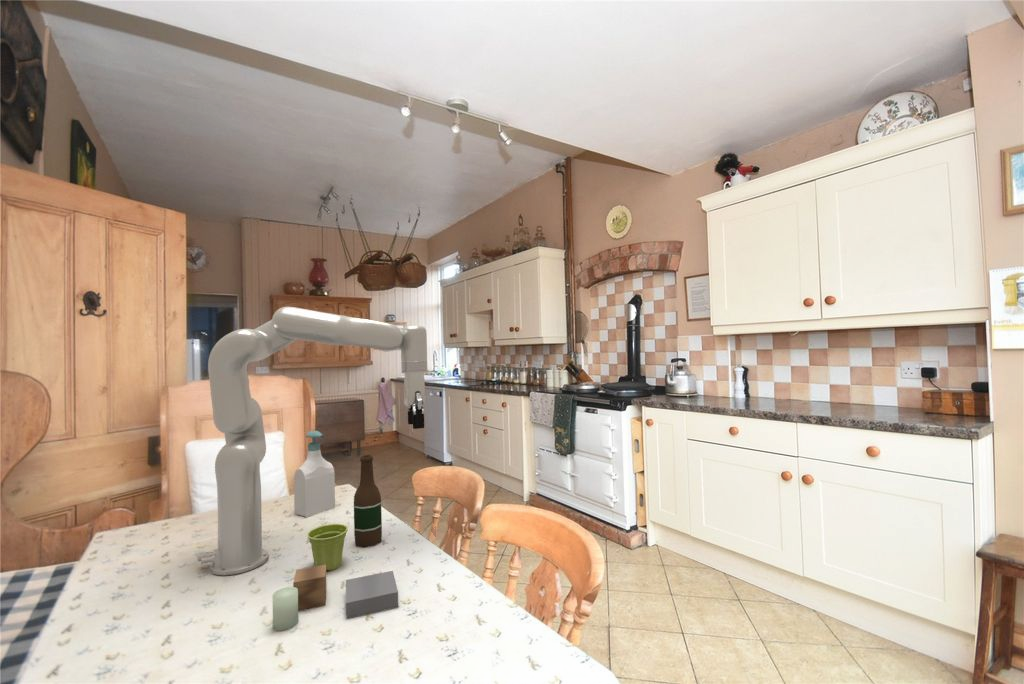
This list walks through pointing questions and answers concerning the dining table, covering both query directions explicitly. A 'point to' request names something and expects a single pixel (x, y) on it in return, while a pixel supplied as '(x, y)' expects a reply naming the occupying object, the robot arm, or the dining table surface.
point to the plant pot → (328, 545)
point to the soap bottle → (314, 482)
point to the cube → (311, 587)
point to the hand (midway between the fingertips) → (415, 426)
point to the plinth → (371, 594)
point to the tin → (285, 608)
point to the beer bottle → (367, 507)
